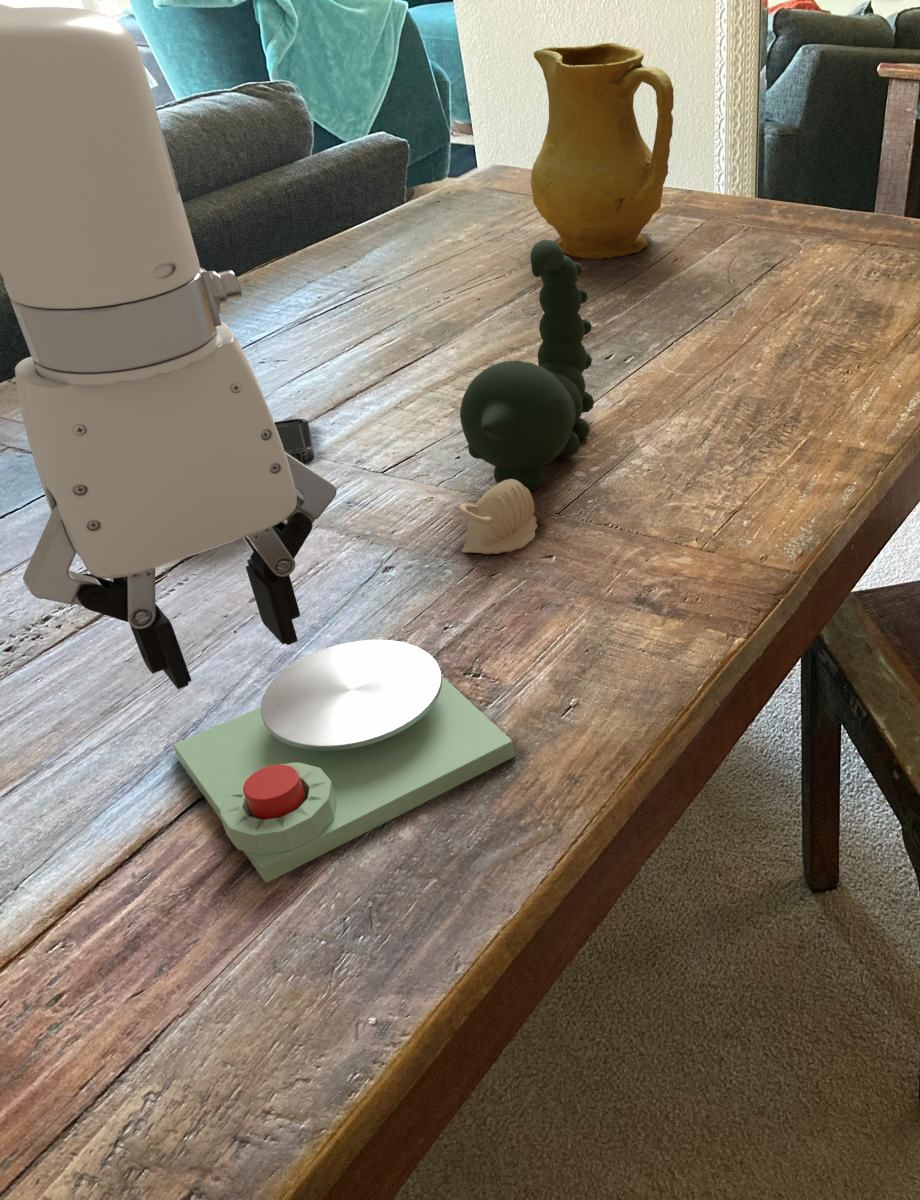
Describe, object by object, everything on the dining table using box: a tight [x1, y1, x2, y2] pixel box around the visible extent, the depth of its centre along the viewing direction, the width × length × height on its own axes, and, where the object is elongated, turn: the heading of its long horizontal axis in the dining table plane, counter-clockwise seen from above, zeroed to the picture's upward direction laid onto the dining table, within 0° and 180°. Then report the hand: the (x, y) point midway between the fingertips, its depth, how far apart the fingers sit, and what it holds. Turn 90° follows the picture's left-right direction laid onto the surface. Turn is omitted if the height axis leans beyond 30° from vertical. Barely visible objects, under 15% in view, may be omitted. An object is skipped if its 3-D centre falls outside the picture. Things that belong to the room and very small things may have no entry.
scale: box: [172, 675, 516, 884], centre depth 75 cm, size 16×14×3 cm
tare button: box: [243, 765, 305, 819], centre depth 68 cm, size 3×3×2 cm
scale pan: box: [260, 639, 443, 751], centre depth 76 cm, size 11×11×1 cm
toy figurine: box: [459, 239, 595, 492], centre depth 106 cm, size 9×19×25 cm
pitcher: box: [530, 42, 675, 260], centre depth 156 cm, size 17×19×25 cm
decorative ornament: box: [458, 479, 538, 555], centre depth 96 cm, size 4×8×5 cm, turn 150°
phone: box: [274, 418, 315, 464], centre depth 110 cm, size 8×1×15 cm
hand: (228, 650), depth 63 cm, fingers open, 4 cm apart
